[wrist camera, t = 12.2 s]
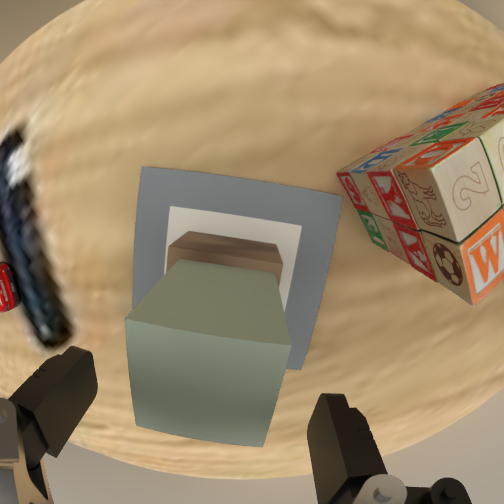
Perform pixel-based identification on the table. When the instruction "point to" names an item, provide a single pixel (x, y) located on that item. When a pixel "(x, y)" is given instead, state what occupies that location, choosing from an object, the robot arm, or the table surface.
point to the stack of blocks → (440, 196)
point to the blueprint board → (238, 236)
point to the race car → (7, 289)
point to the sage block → (208, 353)
